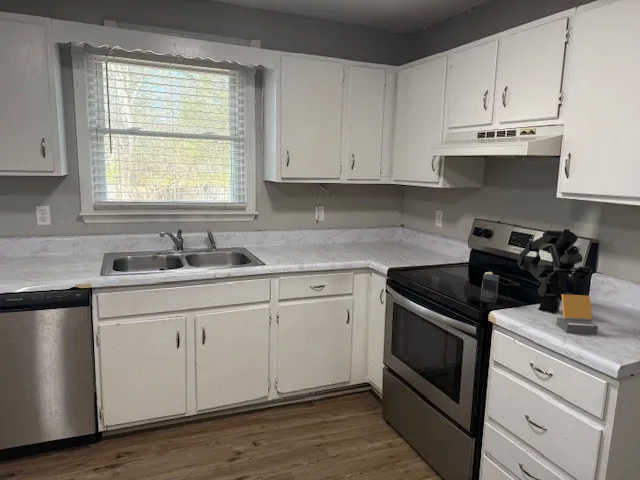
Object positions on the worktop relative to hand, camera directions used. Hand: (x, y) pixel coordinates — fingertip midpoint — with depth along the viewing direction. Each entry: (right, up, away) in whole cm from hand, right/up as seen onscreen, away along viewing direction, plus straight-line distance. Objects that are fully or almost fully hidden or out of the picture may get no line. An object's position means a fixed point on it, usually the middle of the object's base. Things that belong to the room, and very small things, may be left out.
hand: (569, 290), depth 177 cm
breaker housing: (-1, -14, -6) cm, 15 cm away
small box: (-21, -7, +27) cm, 35 cm away
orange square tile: (-1, -10, -6) cm, 12 cm away
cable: (-3, -2, +61) cm, 61 cm away
